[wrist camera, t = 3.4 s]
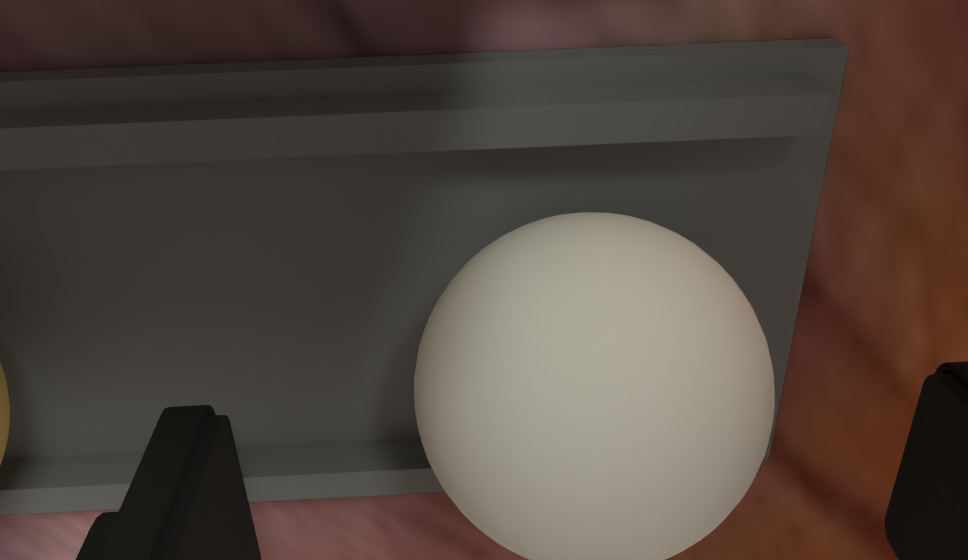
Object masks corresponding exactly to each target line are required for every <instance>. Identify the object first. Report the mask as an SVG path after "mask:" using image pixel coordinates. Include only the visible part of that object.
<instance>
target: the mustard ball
mask: <svg viewBox="0 0 968 560" xmlns="http://www.w3.org/2000/svg"><path fill="white" fill-rule="evenodd" d="M9 423H10V403H9V395H8V388H7V381H6V377H5V374H4V371H3V368H2V365H1V363H0V466H1V462H2V459H3V456H4V453H5V448H6V444H7V440H8V433H9Z"/></svg>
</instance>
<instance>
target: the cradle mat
mask: <svg viewBox="0 0 968 560" xmlns="http://www.w3.org/2000/svg"><path fill="white" fill-rule="evenodd" d="M848 52H849V47H848V46H847V45H845V44H844V43H842V42H841V41H839V40H838V39H837V38H821V39H796V40H771V41H747V42H722V43H697V44H673V45H648V46H623V47H598V48H574V49H549V50H524V51H499V52H475V53H450V54H425V55H401V56H376V57H351V58H326V59H302V60H277V61H252V62H228V63H203V64H178V65H153V66H129V67H104V68H79V69H55V70H30V71H5V72H0V363H1V365H2V368H3V371H4V374H5V377H6V381H7V388H8V395H9V403H10V423H9V433H8V440H7V444H6V448H5V453H4V456H3V459H2V462H1V466H0V515H18V514H37V513H56V512H75V511H94V510H113V509H120V507H121V505H122V503H123V500H124V498H125V496H126V493H127V491H128V489H129V487H130V484H131V482H132V480H133V477H134V475H135V473H136V470H137V468H138V466H139V464H140V461H141V459H142V457H143V454H144V452H145V450H146V447H147V445H148V443H149V441H150V438H151V436H152V434H153V431H154V429H155V427H156V424H157V422H158V420H159V418H160V415H161V413H162V412H163V410H164V409H165V408H167V407H176V406H193V405H211V406H212V407H213V409H214V411H215V414H216V415H227V416H228V418H229V420H230V423H231V428H232V432H233V436H234V441H235V445H236V450H237V454H238V458H239V463H240V467H241V472H242V476H243V480H244V485H245V489H246V493H247V498H248V502H266V501H285V500H304V499H323V498H342V497H361V496H380V495H399V494H418V493H437V492H445V491H444V489H443V488H442V486H441V484H440V482H439V480H438V479H437V477H436V475H435V473H434V471H433V469H432V467H431V465H430V463H429V461H428V458H427V456H426V453H425V450H424V447H423V444H422V441H421V437H420V434H419V430H418V425H417V419H416V413H415V401H414V376H415V369H416V362H417V356H418V350H419V345H420V342H421V339H422V336H423V333H424V329H425V327H426V324H427V322H428V319H429V317H430V315H431V313H432V311H433V309H434V307H435V305H436V303H437V301H438V299H439V297H440V296H441V294H442V293H443V292H444V290H445V289H446V287H447V286H448V284H449V283H450V282H451V280H452V279H453V278H454V276H455V275H456V274H457V273H458V272H459V271H460V270H461V269H462V267H463V266H464V265H465V264H466V263H467V262H468V261H469V260H470V259H471V258H472V257H474V256H475V255H476V254H477V253H478V252H480V251H481V250H482V249H483V248H484V247H486V246H487V245H489V244H491V243H492V242H494V241H495V240H497V239H498V238H500V237H501V236H503V235H505V234H507V233H509V232H511V231H513V230H515V229H517V228H519V227H521V226H523V225H526V224H529V223H532V222H535V221H537V220H540V219H543V218H548V217H552V216H557V215H561V214H570V213H580V212H598V213H613V214H620V215H628V216H632V217H635V218H639V219H643V220H647V221H650V222H652V223H654V224H657V225H659V226H662V227H664V228H667V229H669V230H671V231H673V232H675V233H677V234H679V235H681V236H682V237H684V238H686V239H687V240H689V241H691V242H693V243H694V244H695V245H697V246H698V247H699V248H700V249H702V250H703V251H704V252H705V253H707V254H708V255H709V256H710V257H712V258H713V259H714V260H715V261H716V262H717V263H719V264H720V265H721V266H722V268H723V269H724V270H725V271H726V272H727V273H728V274H729V275H730V276H731V277H732V278H733V280H734V281H735V282H736V284H737V285H738V287H739V288H740V289H741V291H742V292H743V294H744V295H745V297H746V298H747V300H748V301H749V303H750V304H751V306H752V308H753V310H754V312H755V315H756V317H757V319H758V321H759V324H760V326H761V328H762V331H763V333H764V335H765V337H766V341H767V345H768V349H769V353H770V358H771V362H772V367H773V372H774V387H775V408H774V417H773V425H772V429H771V434H770V438H769V442H768V446H767V449H766V453H765V456H764V458H763V460H769V455H770V450H771V445H772V440H773V435H774V430H775V425H776V420H777V415H778V410H779V404H780V399H781V394H782V389H783V384H784V379H785V374H786V369H787V364H788V358H789V353H790V348H791V343H792V338H793V333H794V328H795V323H796V318H797V313H798V307H799V302H800V297H801V292H802V287H803V282H804V277H805V272H806V267H807V262H808V256H809V251H810V246H811V241H812V236H813V231H814V226H815V221H816V216H817V210H818V205H819V200H820V195H821V190H822V185H823V180H824V175H825V170H826V165H827V159H828V154H829V149H830V144H831V139H832V134H833V129H834V124H835V119H836V114H837V108H838V103H839V98H840V93H841V88H842V83H843V78H844V73H845V68H846V62H847V57H848ZM761 464H762V463H761ZM760 469H761V465H760V467H759V470H758V472H757V474H756V476H759V474H760Z"/></svg>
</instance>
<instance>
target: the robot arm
mask: <svg viewBox="0 0 968 560" xmlns="http://www.w3.org/2000/svg"><path fill="white" fill-rule="evenodd" d="M885 531H886V536H887V539H888V542H889V544H890V546H891V548H892V549H893V551H894V552H895V554H896V556H897V557H898V559H899V560H968V361H966V362H949V363H944V364H941V365H940V366H939V367H938V368H937V370H936V372H935V374H932V375H929V376H928V377H927V378H926V379H925V381H924V383H923V386H922V390H921V394H920V397H919V401H918V404H917V408H916V411H915V415H914V418H913V422H912V425H911V429H910V432H909V436H908V439H907V443H906V446H905V450H904V453H903V457H902V460H901V464H900V467H899V471H898V474H897V478H896V481H895V485H894V488H893V492H892V495H891V499H890V502H889V506H888V509H887V513H886V517H885ZM76 560H261V555H260V551H259V546H258V542H257V537H256V533H255V529H254V524H253V520H252V515H251V511H250V507H249V502H248V498H247V493H246V489H245V485H244V480H243V476H242V472H241V467H240V463H239V458H238V454H237V450H236V445H235V441H234V436H233V432H232V428H231V423H230V420H229V418H228V416H227V415H216V414H215V411H214V409H213V407H212V406H211V405H193V406H176V407H167V408H165V409H164V410H163V412H162V413H161V415H160V418H159V420H158V422H157V424H156V427H155V429H154V431H153V434H152V436H151V438H150V441H149V443H148V445H147V447H146V450H145V452H144V454H143V457H142V459H141V461H140V464H139V466H138V468H137V470H136V473H135V475H134V477H133V480H132V482H131V484H130V487H129V489H128V491H127V493H126V496H125V498H124V500H123V503H122V505H121V507H120V510H119V512H107V513H102V514H101V515H100V516H98V517H97V518H96V520H95V521H94V523H93V525H92V526H91V528H90V530H89V532H88V534H87V537H86V539H85V541H84V543H83V545H82V547H81V549H80V552H79V554H78V556H77V558H76Z"/></svg>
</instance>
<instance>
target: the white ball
mask: <svg viewBox="0 0 968 560" xmlns="http://www.w3.org/2000/svg"><path fill="white" fill-rule="evenodd" d="M414 401H415V413H416V419H417V425H418V430H419V434H420V437H421V441H422V444H423V447H424V450H425V453H426V456H427V458H428V461H429V463H430V465H431V467H432V469H433V471H434V473H435V475H436V477H437V479H438V480H439V482H440V484H441V486H442V488H443V489H444V491H445V492H446V493H447V495H448V496H449V497H450V498H451V500H452V501H453V502H454V504H455V505H456V506H457V507H458V509H459V510H460V511H461V512H462V514H463V515H464V516H465V517H466V518H467V519H468V520H469V521H470V522H471V523H473V524H474V525H475V526H476V527H477V528H478V529H479V530H481V531H482V532H483V533H484V534H485V535H487V536H488V537H489V538H491V539H492V540H494V541H495V542H496V543H498V544H499V545H501V546H503V547H505V548H506V549H508V550H510V551H512V552H514V553H516V554H518V555H520V556H522V557H524V558H526V559H529V560H666V559H668V558H670V557H672V556H674V555H676V554H678V553H680V552H682V551H684V550H686V549H687V548H689V547H691V546H692V545H694V544H695V543H697V542H699V541H700V540H702V539H703V538H704V537H706V536H707V535H708V534H710V533H711V532H712V531H713V530H714V529H715V528H717V527H718V526H719V525H720V524H721V523H722V522H723V521H724V520H725V519H726V518H727V516H728V515H729V514H730V513H731V512H732V510H733V509H734V508H735V507H736V506H737V504H738V503H739V502H740V501H741V500H742V498H743V497H744V495H745V494H746V492H747V491H748V489H749V487H750V486H751V484H752V482H753V480H754V478H755V476H756V474H757V472H758V470H759V467H760V465H761V463H762V461H763V458H764V456H765V453H766V449H767V446H768V442H769V438H770V434H771V429H772V425H773V417H774V408H775V387H774V372H773V367H772V362H771V358H770V353H769V349H768V345H767V341H766V337H765V335H764V333H763V331H762V328H761V326H760V324H759V321H758V319H757V317H756V315H755V312H754V310H753V308H752V306H751V304H750V303H749V301H748V300H747V298H746V297H745V295H744V294H743V292H742V291H741V289H740V288H739V287H738V285H737V284H736V282H735V281H734V280H733V278H732V277H731V276H730V275H729V274H728V273H727V272H726V271H725V270H724V269H723V268H722V266H721V265H720V264H719V263H717V262H716V261H715V260H714V259H713V258H712V257H710V256H709V255H708V254H707V253H705V252H704V251H703V250H702V249H700V248H699V247H698V246H697V245H695V244H694V243H693V242H691V241H689V240H687V239H686V238H684V237H682V236H681V235H679V234H677V233H675V232H673V231H671V230H669V229H667V228H664V227H662V226H659V225H657V224H654V223H652V222H650V221H647V220H643V219H639V218H635V217H632V216H628V215H620V214H613V213H598V212H580V213H570V214H561V215H557V216H552V217H548V218H543V219H540V220H537V221H535V222H532V223H529V224H526V225H523V226H521V227H519V228H517V229H515V230H513V231H511V232H509V233H507V234H505V235H503V236H501V237H500V238H498V239H497V240H495V241H494V242H492V243H491V244H489V245H487V246H486V247H484V248H483V249H482V250H481V251H480V252H478V253H477V254H476V255H475V256H474V257H472V258H471V259H470V260H469V261H468V262H467V263H466V264H465V265H464V266H463V267H462V269H461V270H460V271H459V272H458V273H457V274H456V275H455V276H454V278H453V279H452V280H451V282H450V283H449V284H448V286H447V287H446V289H445V290H444V292H443V293H442V294H441V296H440V297H439V299H438V301H437V303H436V305H435V307H434V309H433V311H432V313H431V315H430V317H429V319H428V322H427V324H426V327H425V329H424V333H423V336H422V339H421V342H420V345H419V350H418V356H417V362H416V369H415V376H414Z"/></svg>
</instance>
